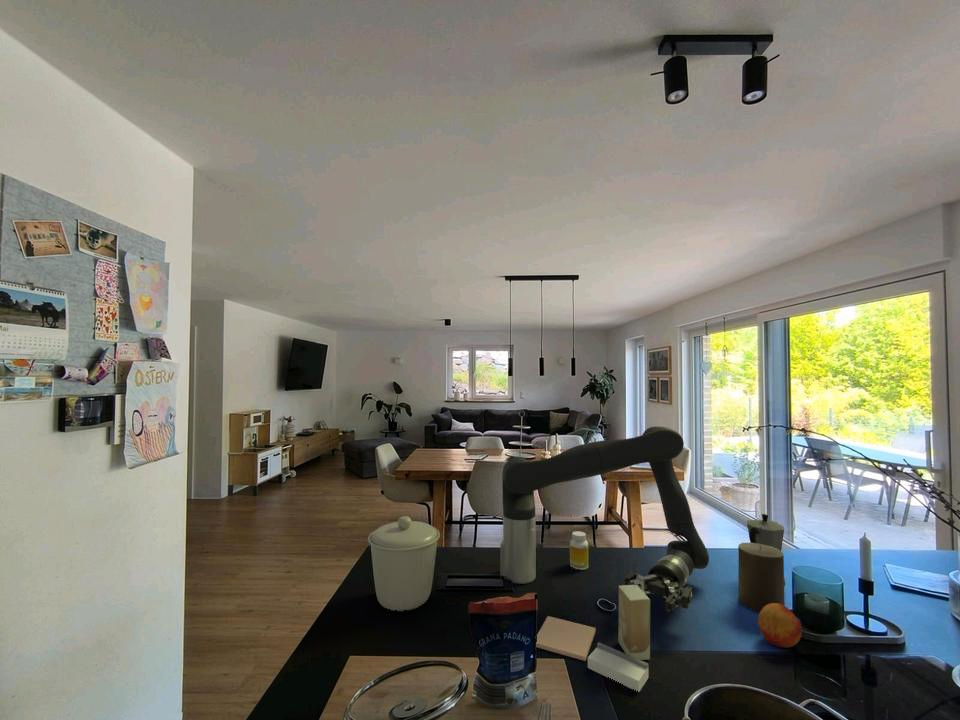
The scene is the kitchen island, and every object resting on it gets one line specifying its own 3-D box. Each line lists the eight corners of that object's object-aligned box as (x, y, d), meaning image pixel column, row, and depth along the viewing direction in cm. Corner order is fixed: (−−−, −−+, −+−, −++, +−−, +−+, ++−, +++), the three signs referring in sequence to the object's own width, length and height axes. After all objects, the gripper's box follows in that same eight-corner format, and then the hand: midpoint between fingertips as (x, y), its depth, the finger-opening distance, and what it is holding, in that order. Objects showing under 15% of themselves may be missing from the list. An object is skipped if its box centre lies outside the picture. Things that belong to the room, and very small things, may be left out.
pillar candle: (770, 619, 101) (770, 554, 101) (730, 600, 109) (729, 540, 110) (793, 609, 105) (792, 547, 106) (752, 591, 114) (752, 534, 114)
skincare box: (617, 642, 92) (617, 584, 92) (637, 641, 92) (636, 583, 93) (630, 662, 86) (630, 599, 86) (651, 660, 86) (650, 598, 86)
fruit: (812, 658, 87) (811, 618, 87) (768, 653, 88) (767, 614, 89) (791, 635, 95) (790, 598, 95) (751, 631, 96) (750, 595, 96)
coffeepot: (758, 566, 129) (757, 506, 129) (795, 578, 121) (793, 514, 122) (733, 580, 120) (732, 515, 121) (771, 594, 112) (770, 525, 113)
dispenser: (587, 667, 84) (587, 654, 84) (598, 655, 88) (598, 642, 88) (638, 692, 77) (638, 677, 78) (648, 677, 81) (648, 663, 81)
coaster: (533, 646, 91) (533, 642, 91) (547, 619, 101) (547, 616, 101) (585, 661, 86) (585, 657, 86) (595, 631, 96) (595, 627, 96)
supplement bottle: (588, 571, 126) (588, 537, 126) (570, 569, 127) (569, 536, 127) (588, 563, 131) (587, 531, 131) (570, 561, 132) (569, 529, 132)
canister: (385, 580, 120) (386, 504, 120) (448, 587, 116) (448, 508, 117) (353, 616, 102) (354, 526, 103) (426, 625, 98) (426, 532, 99)
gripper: (640, 552, 112) (615, 573, 100) (699, 568, 103) (680, 594, 91) (640, 581, 112) (616, 606, 100) (700, 599, 103) (681, 630, 91)
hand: (646, 600), depth 95 cm, fingers open, 8 cm apart
